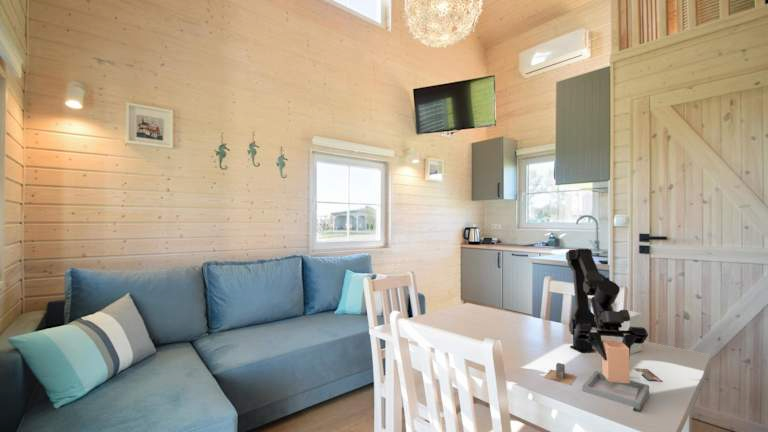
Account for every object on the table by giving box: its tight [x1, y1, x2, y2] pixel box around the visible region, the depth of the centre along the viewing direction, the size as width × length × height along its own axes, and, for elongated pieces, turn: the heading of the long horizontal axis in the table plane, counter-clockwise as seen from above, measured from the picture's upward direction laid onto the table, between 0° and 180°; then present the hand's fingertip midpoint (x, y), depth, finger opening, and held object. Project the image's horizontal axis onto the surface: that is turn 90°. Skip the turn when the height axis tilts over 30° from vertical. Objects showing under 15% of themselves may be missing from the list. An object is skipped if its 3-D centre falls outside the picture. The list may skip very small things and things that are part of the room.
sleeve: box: [601, 340, 631, 383], centre depth 105 cm, size 5×5×10 cm
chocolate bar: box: [633, 367, 664, 383], centre depth 117 cm, size 11×5×1 cm, turn 169°
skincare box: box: [614, 309, 643, 355], centre depth 138 cm, size 8×6×15 cm
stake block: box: [543, 362, 578, 386], centre depth 114 cm, size 8×8×5 cm
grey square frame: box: [581, 370, 650, 413], centre depth 105 cm, size 14×14×2 cm
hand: (616, 360), depth 104 cm, fingers closed on sleeve, 5 cm apart
